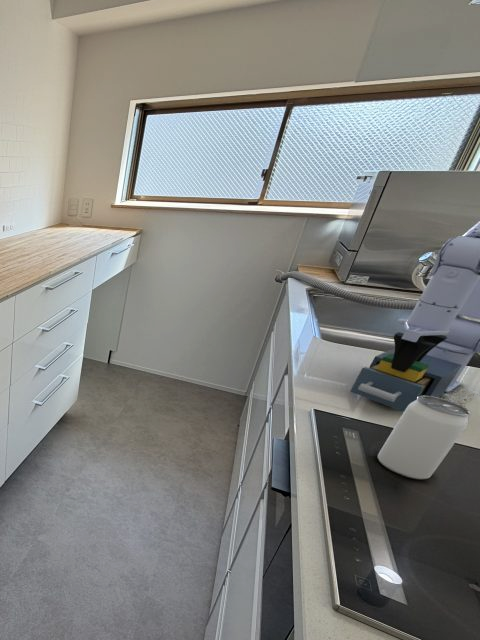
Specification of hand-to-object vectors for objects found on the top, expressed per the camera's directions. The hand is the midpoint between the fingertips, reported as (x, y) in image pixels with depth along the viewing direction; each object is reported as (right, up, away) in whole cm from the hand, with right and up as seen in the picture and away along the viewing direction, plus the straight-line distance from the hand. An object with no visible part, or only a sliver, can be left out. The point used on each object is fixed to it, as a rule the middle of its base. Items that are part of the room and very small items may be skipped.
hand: (402, 367), depth 84 cm
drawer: (-1, -6, +3) cm, 7 cm away
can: (-17, -16, -16) cm, 29 cm away
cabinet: (+8, -5, +8) cm, 12 cm away
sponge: (0, -1, +1) cm, 1 cm away
